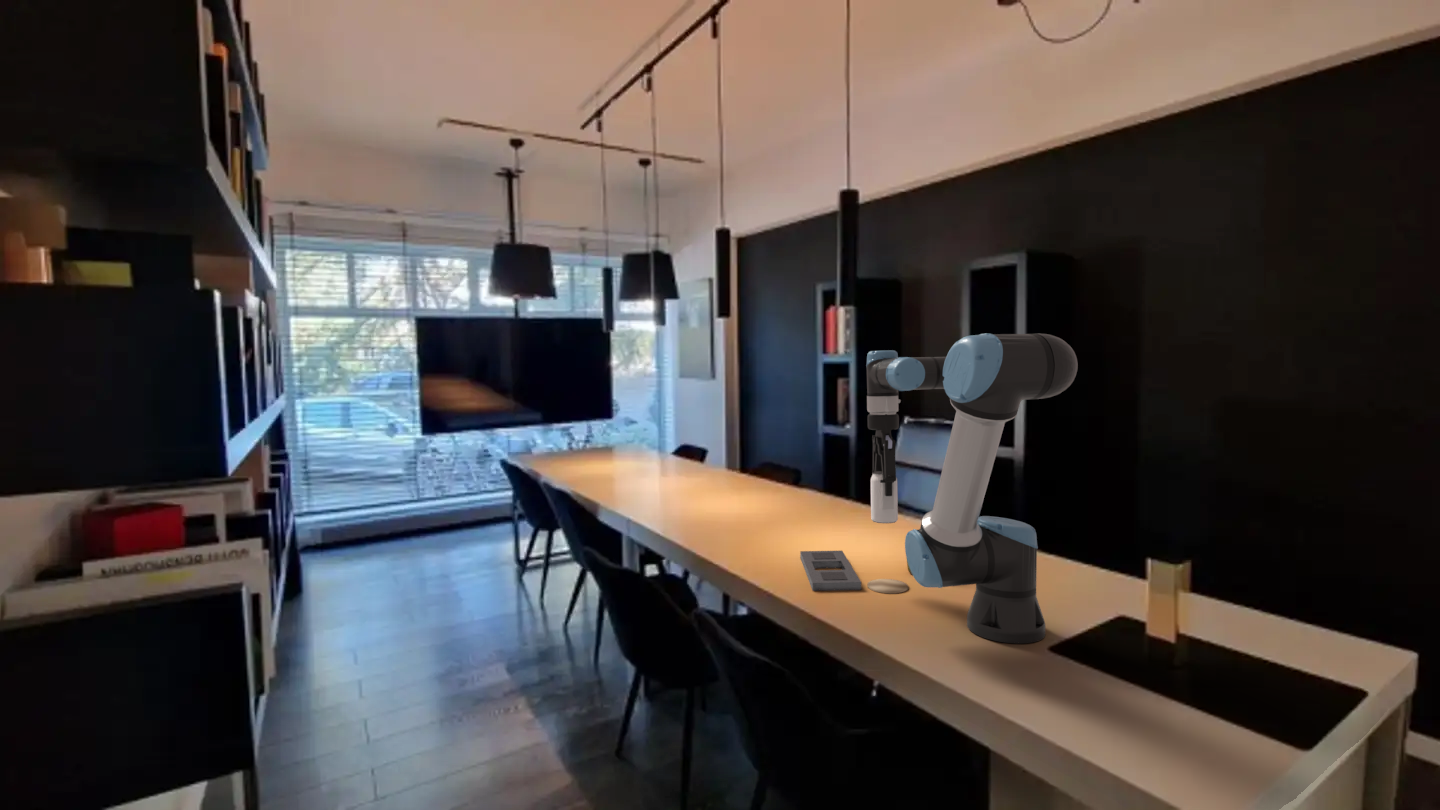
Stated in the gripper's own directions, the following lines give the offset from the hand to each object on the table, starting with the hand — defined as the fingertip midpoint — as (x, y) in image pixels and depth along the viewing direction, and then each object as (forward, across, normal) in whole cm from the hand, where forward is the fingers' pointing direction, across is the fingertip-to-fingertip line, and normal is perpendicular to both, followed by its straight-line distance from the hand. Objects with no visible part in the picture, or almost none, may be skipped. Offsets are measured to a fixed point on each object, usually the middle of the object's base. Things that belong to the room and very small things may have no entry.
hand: (884, 505), depth 171 cm
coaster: (+20, 0, -1) cm, 20 cm away
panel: (+20, +12, +12) cm, 27 cm away
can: (+4, 0, 0) cm, 4 cm away
